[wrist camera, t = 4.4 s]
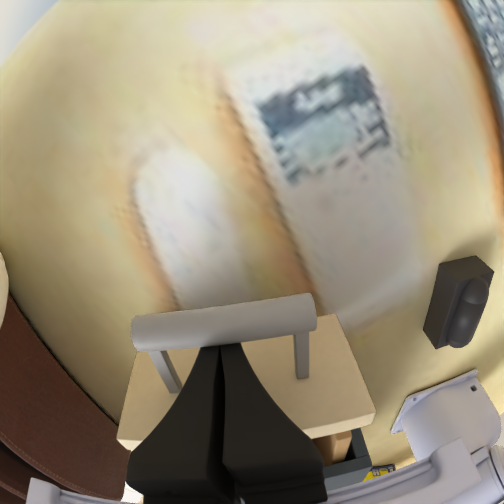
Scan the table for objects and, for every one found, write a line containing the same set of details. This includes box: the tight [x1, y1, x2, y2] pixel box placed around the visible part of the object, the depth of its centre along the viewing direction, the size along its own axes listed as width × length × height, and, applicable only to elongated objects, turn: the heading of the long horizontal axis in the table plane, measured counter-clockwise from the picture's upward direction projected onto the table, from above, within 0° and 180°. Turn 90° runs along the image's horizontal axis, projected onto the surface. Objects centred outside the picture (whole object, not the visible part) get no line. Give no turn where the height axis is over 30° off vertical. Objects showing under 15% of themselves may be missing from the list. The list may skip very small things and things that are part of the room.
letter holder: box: [0, 292, 131, 504], centre depth 14 cm, size 10×20×14 cm, turn 13°
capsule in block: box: [423, 256, 494, 349], centre depth 17 cm, size 4×6×3 cm, turn 7°
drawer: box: [117, 293, 376, 466], centre depth 16 cm, size 18×11×7 cm, turn 7°
